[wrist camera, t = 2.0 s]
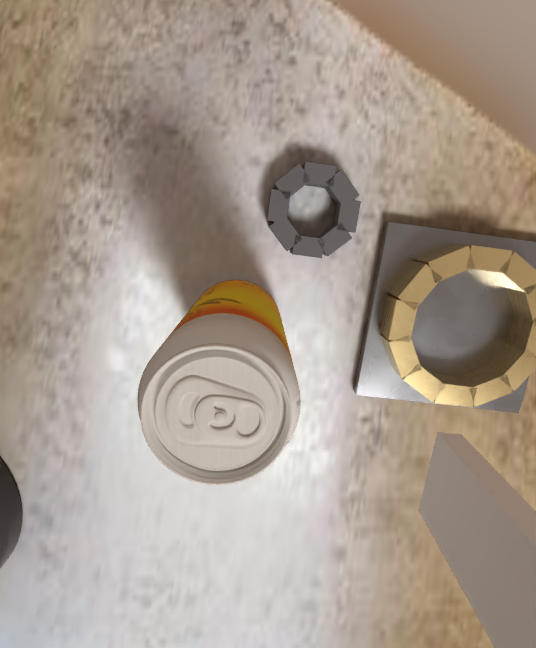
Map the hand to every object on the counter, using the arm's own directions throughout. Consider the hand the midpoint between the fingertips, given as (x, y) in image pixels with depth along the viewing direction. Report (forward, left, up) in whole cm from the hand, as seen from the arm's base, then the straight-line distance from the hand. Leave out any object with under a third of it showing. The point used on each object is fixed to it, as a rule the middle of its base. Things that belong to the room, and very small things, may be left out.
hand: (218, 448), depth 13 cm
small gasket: (+4, +8, -17) cm, 19 cm away
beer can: (0, 0, -17) cm, 17 cm away
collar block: (+15, +2, -17) cm, 23 cm away
